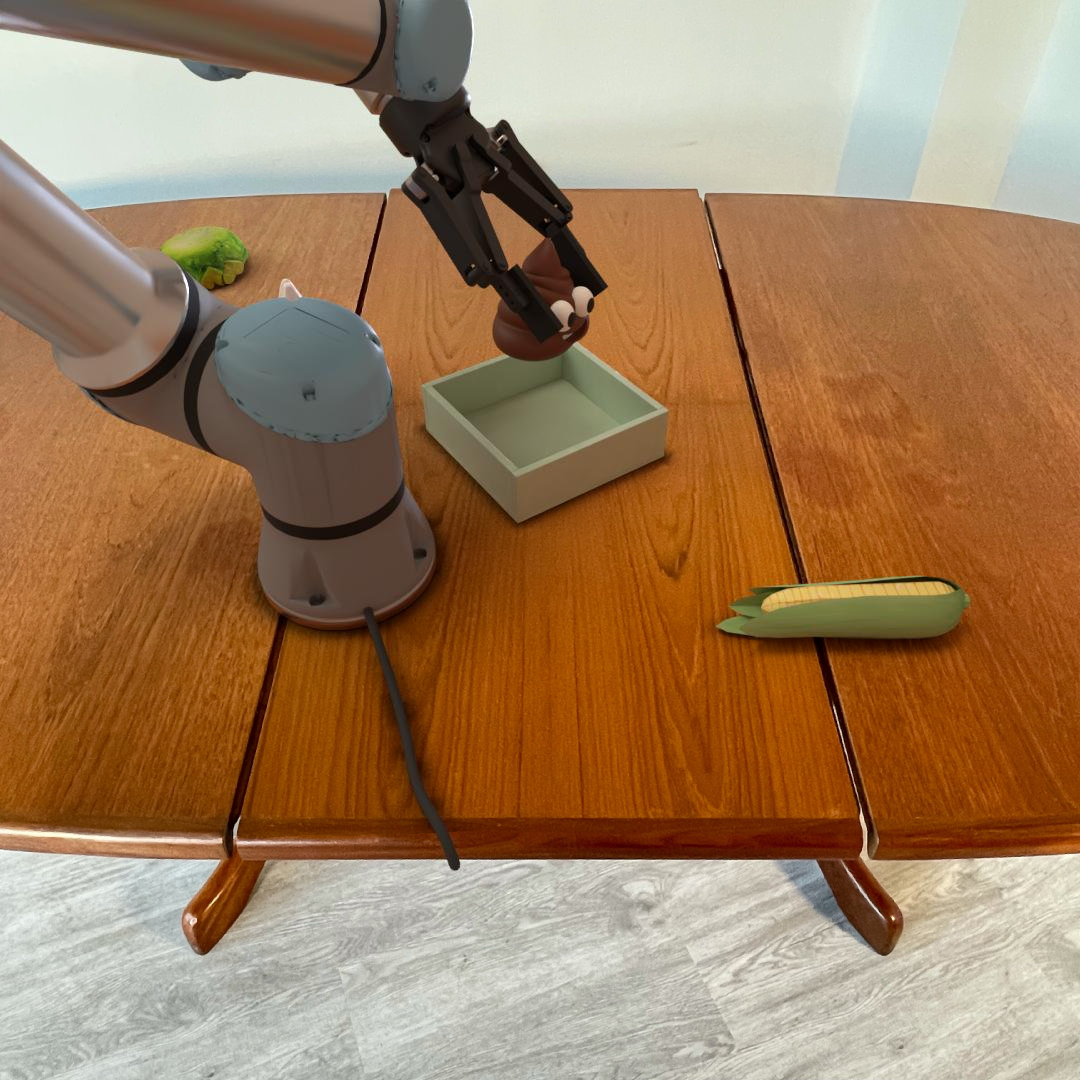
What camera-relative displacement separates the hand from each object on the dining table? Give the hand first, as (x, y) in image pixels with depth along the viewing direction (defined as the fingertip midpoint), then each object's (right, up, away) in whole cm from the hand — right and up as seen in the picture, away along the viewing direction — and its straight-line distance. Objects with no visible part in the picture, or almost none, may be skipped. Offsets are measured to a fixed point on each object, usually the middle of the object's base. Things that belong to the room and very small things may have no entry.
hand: (575, 314), depth 78 cm
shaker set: (-30, -2, +21) cm, 37 cm away
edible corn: (+21, -27, -6) cm, 35 cm away
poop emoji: (-3, -1, +4) cm, 5 cm away
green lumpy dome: (-48, +16, +40) cm, 64 cm away
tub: (-3, -10, +12) cm, 16 cm away
